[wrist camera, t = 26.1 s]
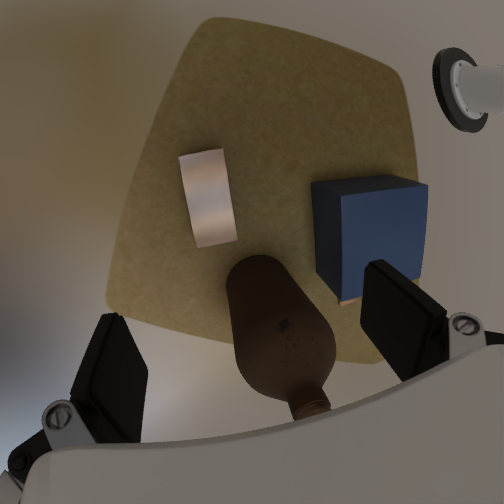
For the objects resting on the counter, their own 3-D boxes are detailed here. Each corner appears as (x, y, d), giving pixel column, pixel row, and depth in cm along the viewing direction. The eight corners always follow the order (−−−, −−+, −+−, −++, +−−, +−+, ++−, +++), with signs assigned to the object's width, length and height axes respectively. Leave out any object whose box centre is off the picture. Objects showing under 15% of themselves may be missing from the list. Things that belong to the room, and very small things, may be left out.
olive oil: (207, 285, 41) (225, 438, 18) (260, 235, 39) (340, 362, 16) (255, 324, 45) (301, 460, 22) (304, 281, 43) (390, 402, 21)
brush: (181, 154, 33) (178, 156, 29) (220, 147, 34) (223, 147, 29) (196, 235, 38) (196, 248, 33) (233, 228, 38) (238, 240, 34)
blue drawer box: (395, 173, 39) (434, 184, 31) (393, 253, 45) (425, 275, 37) (310, 183, 38) (340, 195, 29) (316, 272, 43) (341, 302, 35)
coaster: (364, 298, 46) (362, 296, 47) (366, 274, 44) (364, 272, 45) (340, 306, 46) (338, 303, 47) (340, 281, 44) (338, 279, 45)
